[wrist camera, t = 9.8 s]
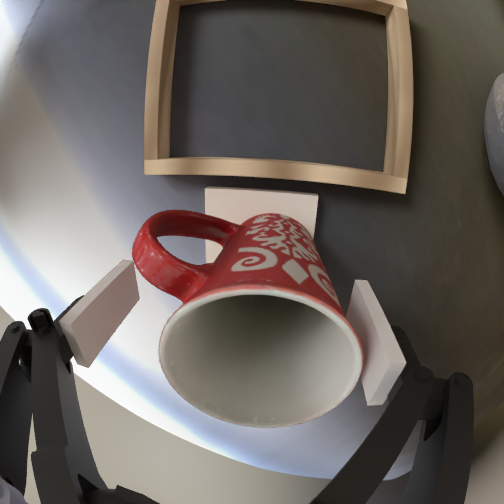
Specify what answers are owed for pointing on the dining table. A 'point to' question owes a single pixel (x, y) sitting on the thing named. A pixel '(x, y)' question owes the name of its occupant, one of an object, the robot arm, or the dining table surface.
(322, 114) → the dining table surface
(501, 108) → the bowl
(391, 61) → the holder frame
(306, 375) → the mug
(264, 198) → the tile
